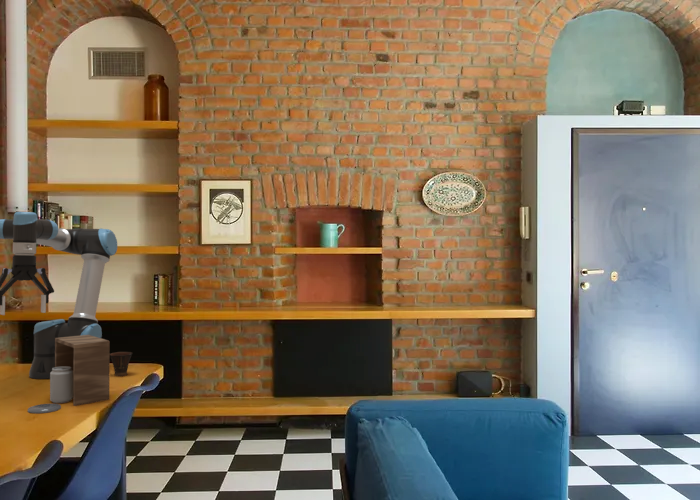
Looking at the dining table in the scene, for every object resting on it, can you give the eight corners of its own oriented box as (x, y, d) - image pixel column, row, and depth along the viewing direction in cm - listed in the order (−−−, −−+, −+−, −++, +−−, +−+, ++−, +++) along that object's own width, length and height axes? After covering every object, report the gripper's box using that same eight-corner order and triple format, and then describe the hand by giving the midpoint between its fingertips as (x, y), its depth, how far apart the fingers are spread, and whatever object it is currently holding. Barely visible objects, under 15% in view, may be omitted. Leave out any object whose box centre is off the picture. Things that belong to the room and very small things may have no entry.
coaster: (23, 409, 204) (23, 407, 204) (54, 403, 211) (54, 401, 211) (33, 415, 197) (33, 413, 197) (65, 409, 204) (65, 407, 204)
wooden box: (54, 395, 222) (55, 338, 222) (88, 390, 231) (88, 334, 231) (74, 405, 209) (74, 344, 208) (109, 399, 217) (109, 340, 217)
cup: (101, 374, 254) (105, 351, 255) (118, 373, 262) (122, 350, 262) (116, 378, 250) (120, 353, 250) (133, 376, 257) (136, 353, 258)
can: (78, 399, 217) (78, 366, 217) (61, 404, 210) (61, 370, 210) (61, 397, 220) (61, 364, 219) (45, 402, 213) (45, 368, 212)
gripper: (-12, 254, 207) (-13, 316, 206) (64, 255, 224) (63, 312, 224) (-18, 254, 212) (-19, 314, 211) (56, 255, 230) (55, 311, 229)
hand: (23, 313), depth 218 cm, fingers open, 13 cm apart
